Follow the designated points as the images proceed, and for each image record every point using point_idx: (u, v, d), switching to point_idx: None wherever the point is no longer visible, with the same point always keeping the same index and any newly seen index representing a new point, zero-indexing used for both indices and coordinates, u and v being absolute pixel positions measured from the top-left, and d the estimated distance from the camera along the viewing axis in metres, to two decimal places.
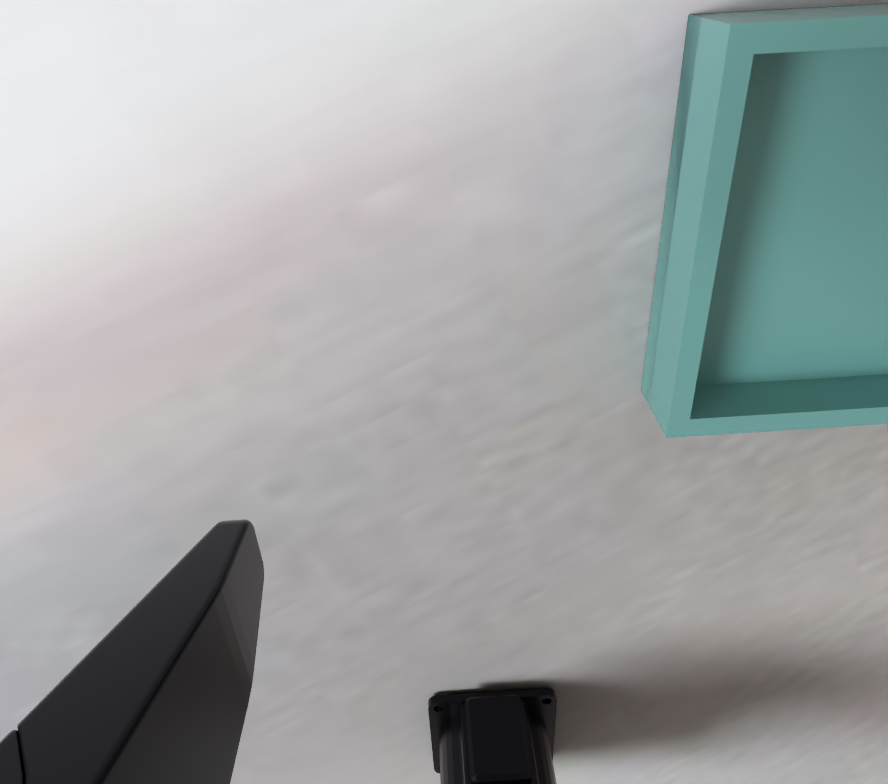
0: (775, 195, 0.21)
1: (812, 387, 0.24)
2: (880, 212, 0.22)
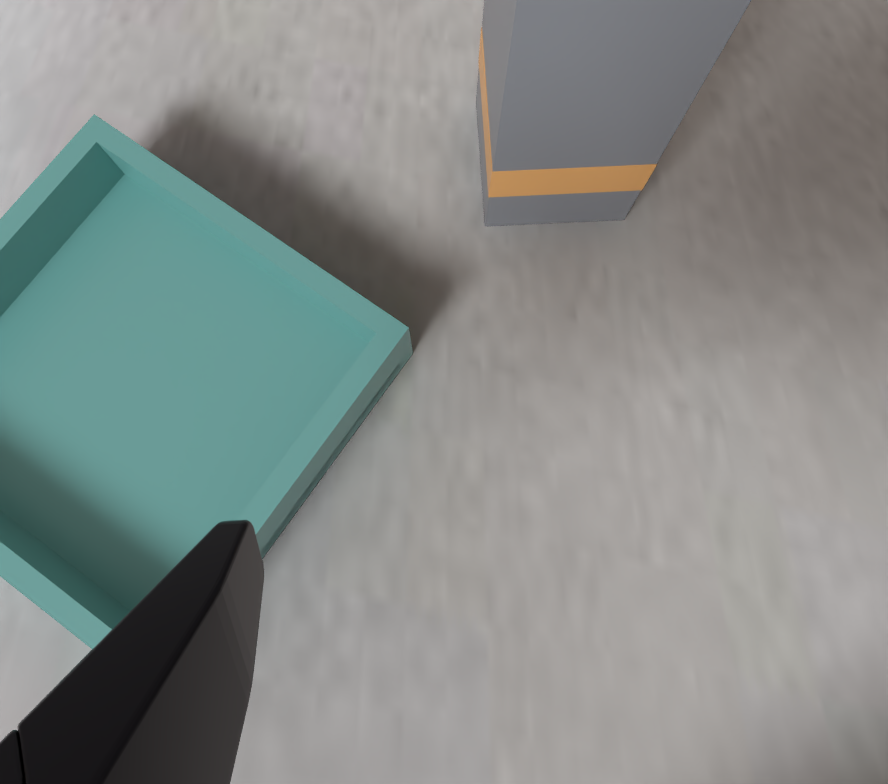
0: (49, 448, 0.22)
1: None
2: (138, 375, 0.23)
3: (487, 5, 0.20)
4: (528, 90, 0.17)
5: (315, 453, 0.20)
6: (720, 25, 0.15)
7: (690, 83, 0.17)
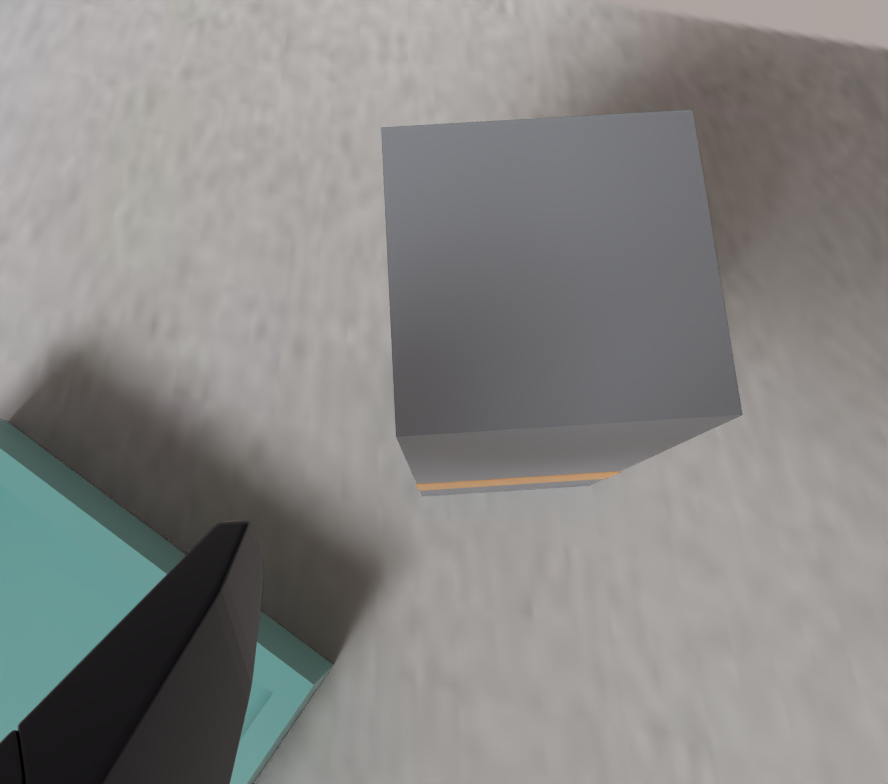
0: None
1: None
2: None
3: None
4: (440, 462, 0.13)
5: None
6: (686, 431, 0.11)
7: (652, 449, 0.13)
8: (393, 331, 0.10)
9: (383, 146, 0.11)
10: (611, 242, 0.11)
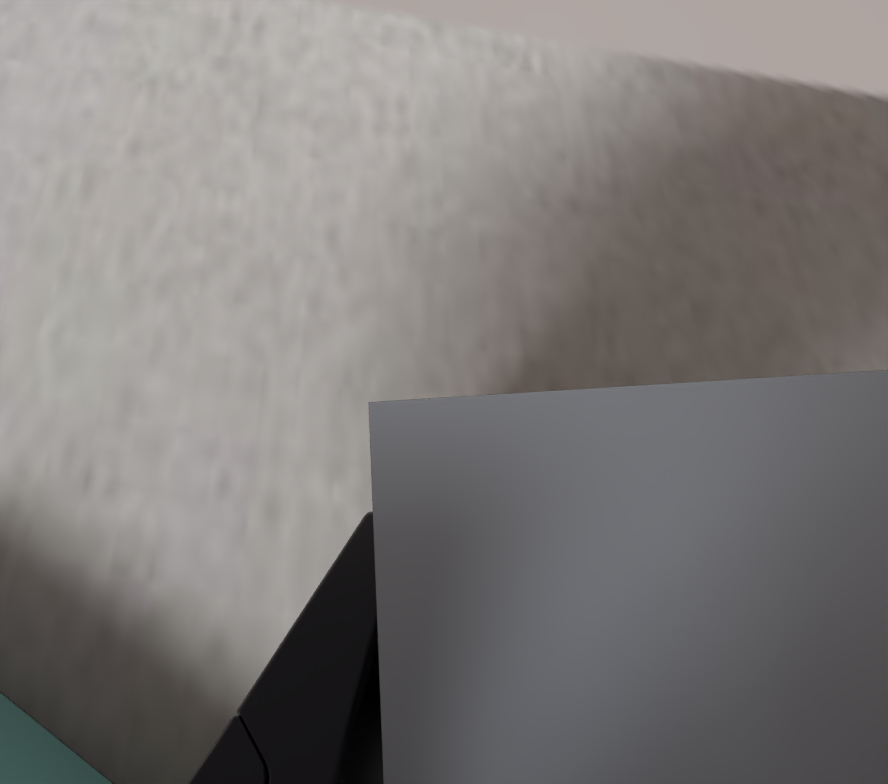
0: None
1: None
2: None
3: None
4: None
5: None
6: None
7: None
8: None
9: (372, 437, 0.06)
10: (779, 630, 0.06)
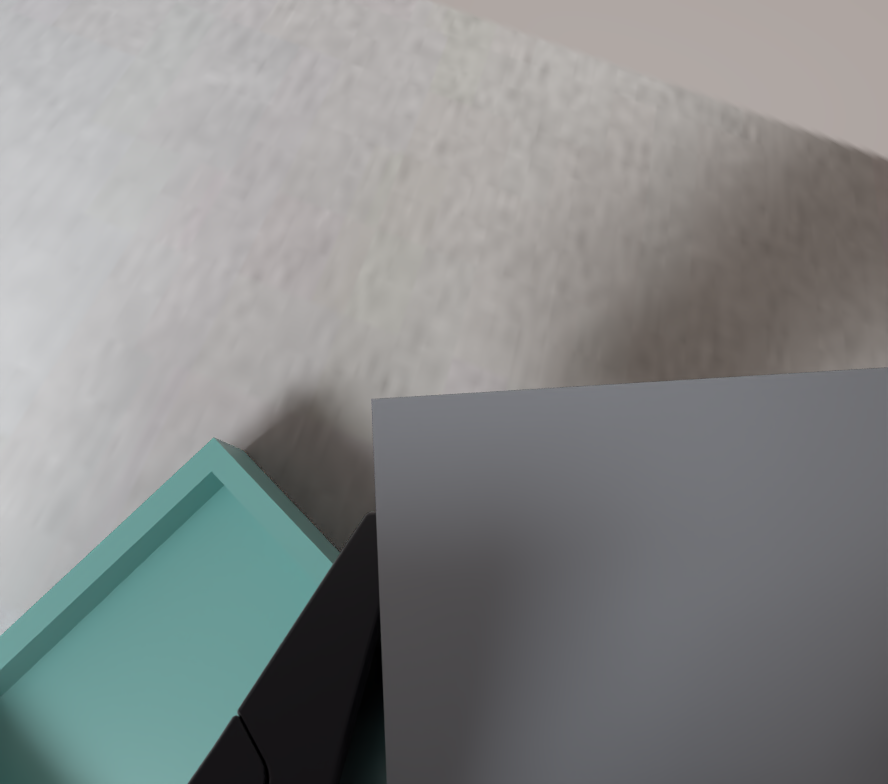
0: None
1: None
2: (212, 722, 0.20)
3: None
4: None
5: None
6: None
7: None
8: None
9: (375, 434, 0.06)
10: (781, 626, 0.06)
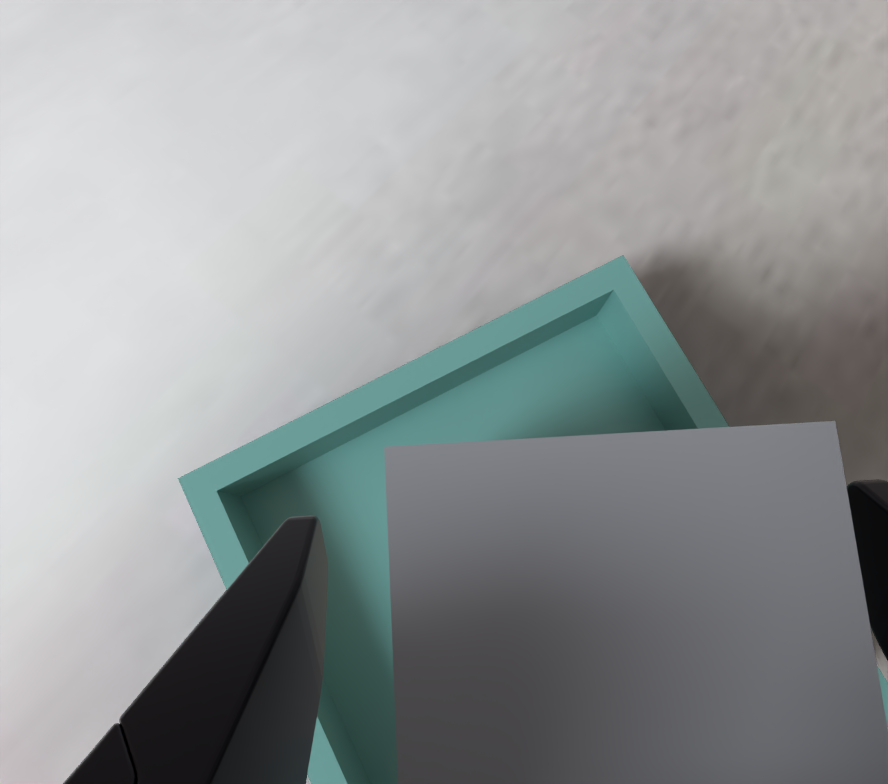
0: (390, 601, 0.18)
1: None
2: None
3: None
4: None
5: None
6: None
7: None
8: None
9: (387, 477, 0.08)
10: (721, 639, 0.07)
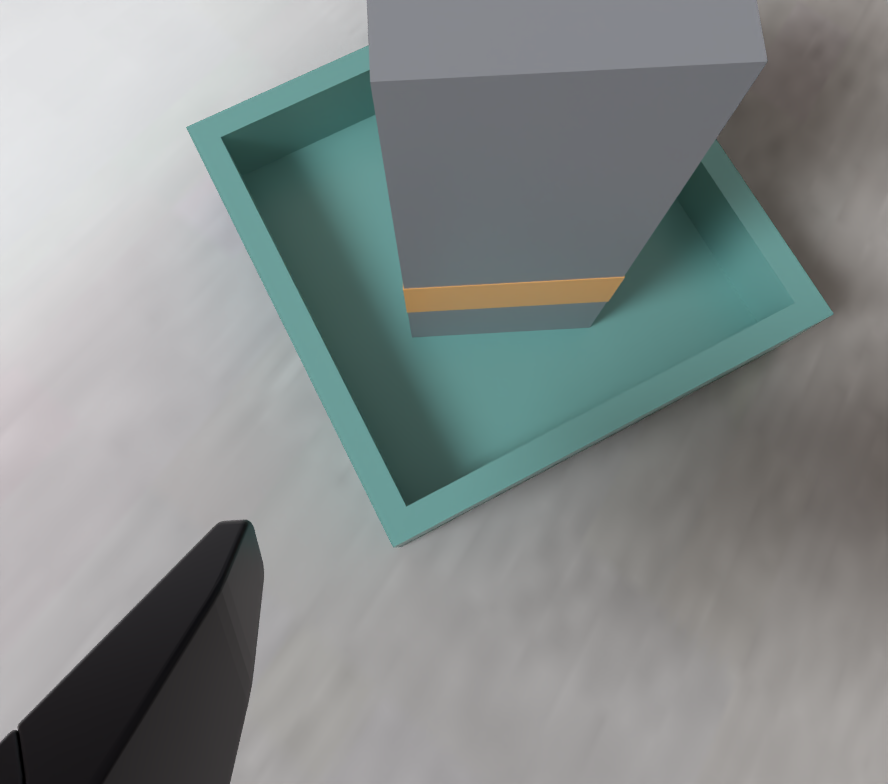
0: (376, 260, 0.20)
1: None
2: None
3: None
4: (425, 206, 0.12)
5: (676, 397, 0.17)
6: (701, 124, 0.10)
7: (661, 193, 0.12)
8: None
9: None
10: None
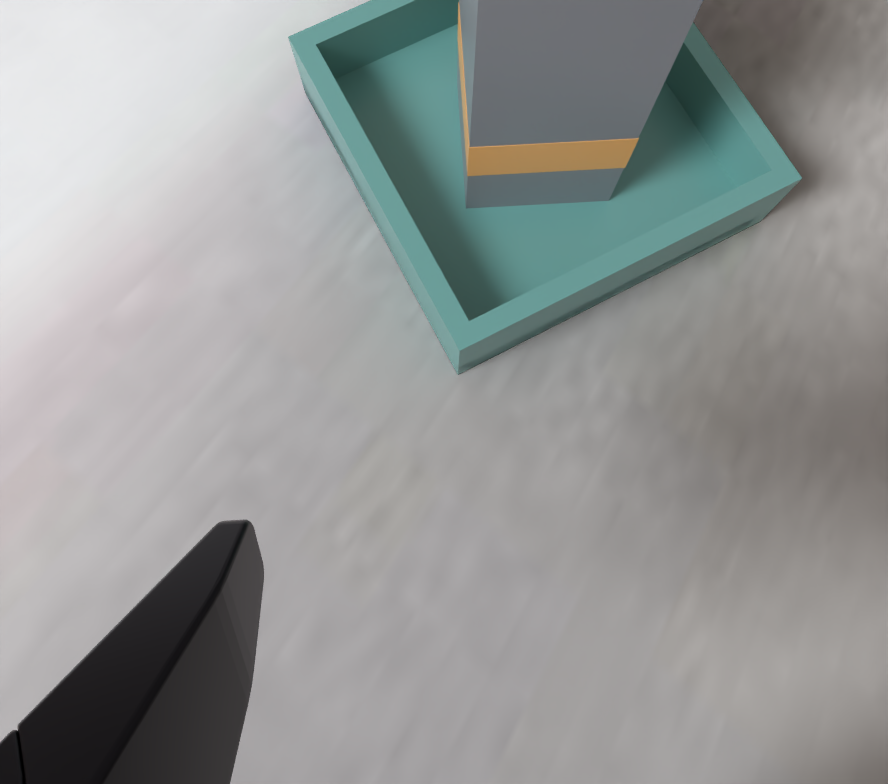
0: (436, 149, 0.25)
1: None
2: None
3: None
4: (500, 56, 0.17)
5: (678, 240, 0.22)
6: None
7: (668, 47, 0.17)
8: None
9: None
10: None
